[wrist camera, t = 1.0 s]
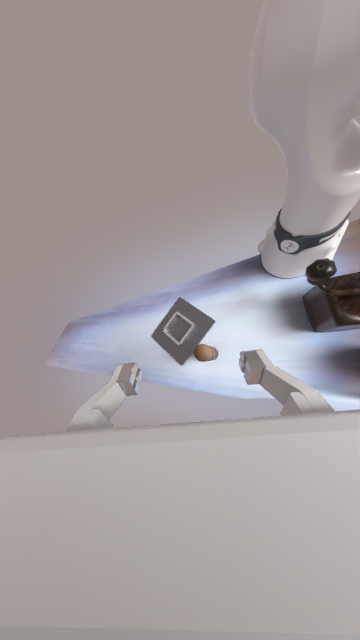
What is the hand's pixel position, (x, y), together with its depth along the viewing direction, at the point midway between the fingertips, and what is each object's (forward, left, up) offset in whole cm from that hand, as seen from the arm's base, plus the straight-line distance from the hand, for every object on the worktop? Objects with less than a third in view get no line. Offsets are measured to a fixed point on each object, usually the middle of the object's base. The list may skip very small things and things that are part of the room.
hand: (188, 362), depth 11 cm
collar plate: (+2, -17, -34) cm, 38 cm away
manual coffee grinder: (-24, +11, -34) cm, 43 cm away
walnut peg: (+2, -4, -34) cm, 34 cm away
